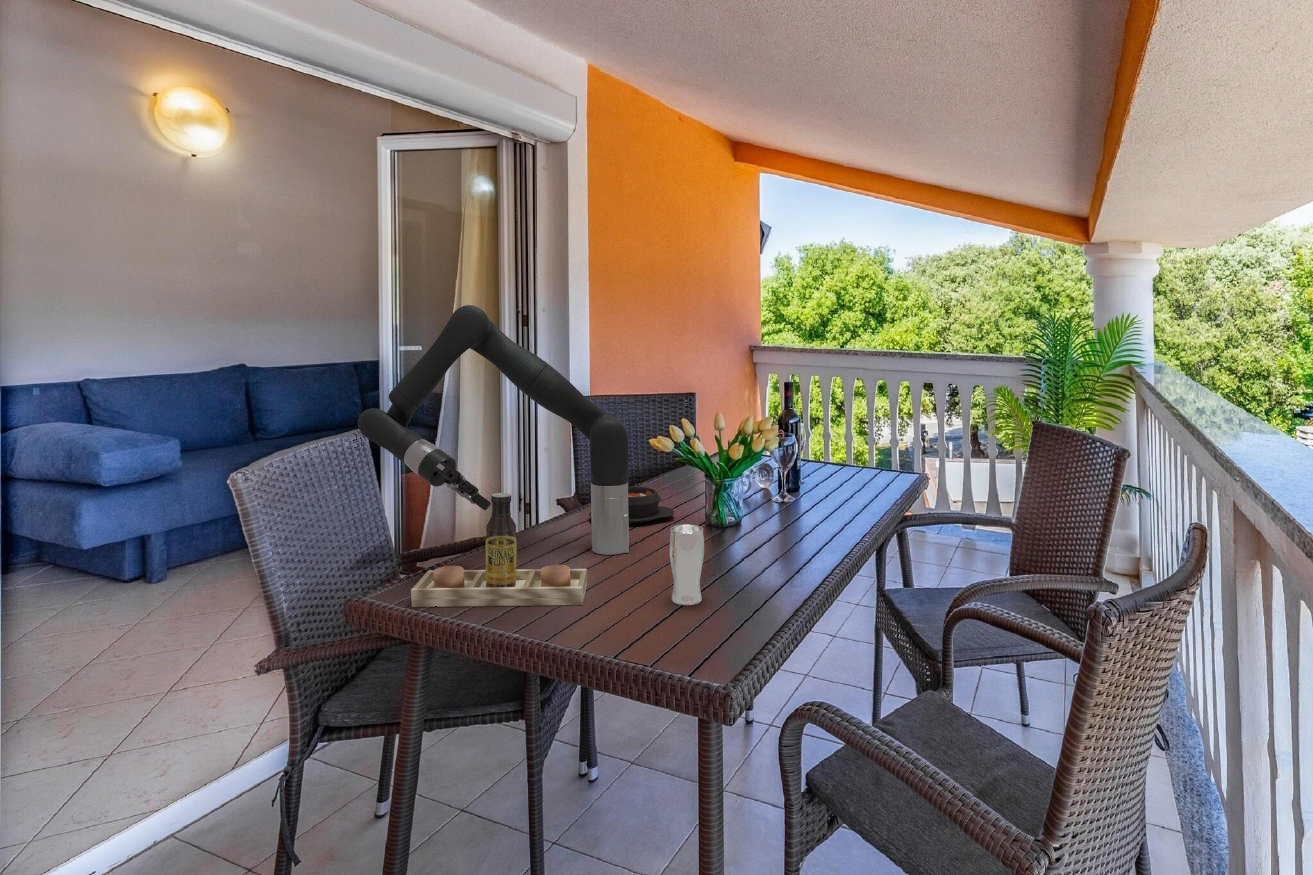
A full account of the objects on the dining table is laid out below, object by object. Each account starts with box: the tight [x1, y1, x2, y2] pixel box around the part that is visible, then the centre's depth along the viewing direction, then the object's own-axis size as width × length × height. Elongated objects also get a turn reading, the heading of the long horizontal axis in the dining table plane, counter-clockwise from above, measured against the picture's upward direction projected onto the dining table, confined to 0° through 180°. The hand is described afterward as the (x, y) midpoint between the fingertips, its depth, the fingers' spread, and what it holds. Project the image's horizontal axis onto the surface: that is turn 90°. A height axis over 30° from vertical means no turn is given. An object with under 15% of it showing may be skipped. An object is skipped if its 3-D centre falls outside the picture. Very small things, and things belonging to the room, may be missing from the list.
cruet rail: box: [410, 564, 588, 608], centre depth 151 cm, size 34×12×6 cm, turn 91°
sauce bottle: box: [485, 492, 517, 588], centre depth 149 cm, size 7×6×20 cm
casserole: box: [588, 486, 675, 525], centre depth 211 cm, size 25×19×8 cm
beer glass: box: [669, 524, 705, 606], centre depth 147 cm, size 7×7×15 cm
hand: (482, 500), depth 158 cm, fingers open, 8 cm apart
